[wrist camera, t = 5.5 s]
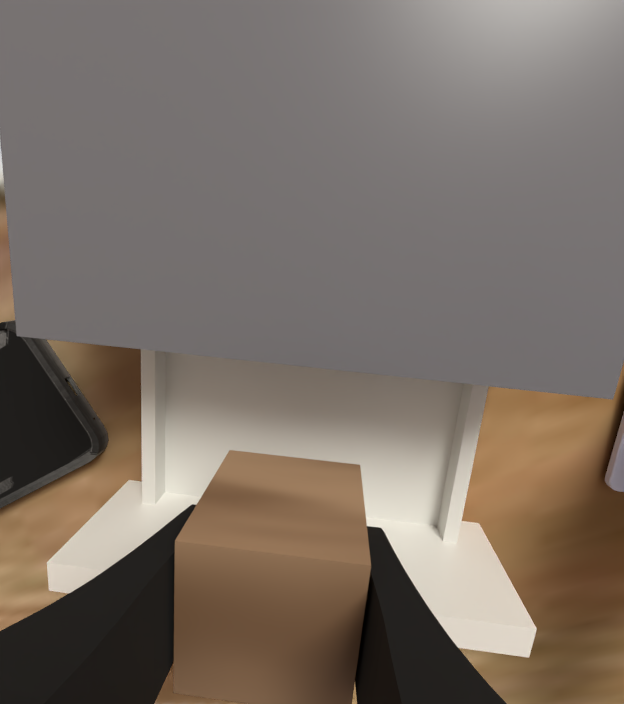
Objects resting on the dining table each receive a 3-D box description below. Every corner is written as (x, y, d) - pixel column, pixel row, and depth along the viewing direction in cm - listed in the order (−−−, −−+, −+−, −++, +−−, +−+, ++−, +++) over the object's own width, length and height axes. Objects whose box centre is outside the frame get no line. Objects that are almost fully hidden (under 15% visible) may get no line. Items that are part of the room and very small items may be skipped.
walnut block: (345, 576, 12) (349, 718, 8) (224, 561, 13) (173, 692, 9) (360, 464, 11) (371, 565, 8) (229, 449, 12) (175, 541, 8)
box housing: (506, 348, 17) (612, 399, 10) (136, 311, 18) (16, 336, 11) (597, -92, 13) (847, -439, 7) (131, -113, 14) (-48, -443, 8)
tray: (474, 545, 18) (529, 657, 13) (129, 501, 19) (49, 590, 14) (550, 191, 15) (667, 148, 9) (123, 156, 16) (13, 99, 10)
